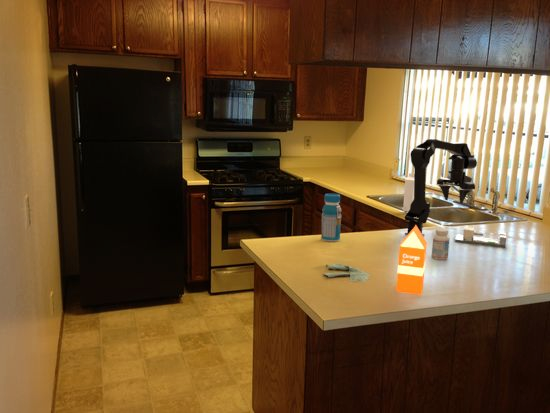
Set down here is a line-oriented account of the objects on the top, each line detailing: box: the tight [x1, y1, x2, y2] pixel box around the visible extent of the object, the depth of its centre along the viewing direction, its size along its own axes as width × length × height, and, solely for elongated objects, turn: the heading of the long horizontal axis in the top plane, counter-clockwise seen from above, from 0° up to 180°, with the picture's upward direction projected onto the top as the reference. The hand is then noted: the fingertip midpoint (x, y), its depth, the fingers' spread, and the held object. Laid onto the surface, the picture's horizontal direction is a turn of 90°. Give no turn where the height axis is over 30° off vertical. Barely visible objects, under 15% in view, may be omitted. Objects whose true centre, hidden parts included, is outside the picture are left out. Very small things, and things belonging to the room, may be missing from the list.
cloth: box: [322, 262, 371, 283], centre depth 172 cm, size 20×22×2 cm
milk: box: [402, 172, 414, 212], centre depth 276 cm, size 6×6×22 cm
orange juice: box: [396, 225, 428, 296], centre depth 156 cm, size 8×9×20 cm
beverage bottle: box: [320, 193, 342, 243], centre depth 214 cm, size 8×8×20 cm
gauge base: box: [454, 231, 507, 249], centre depth 216 cm, size 20×10×4 cm, turn 66°
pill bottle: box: [431, 228, 450, 261], centre depth 191 cm, size 6×6×11 cm
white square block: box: [462, 226, 484, 239], centre depth 216 cm, size 8×8×4 cm
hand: (453, 201), depth 236 cm, fingers open, 9 cm apart
